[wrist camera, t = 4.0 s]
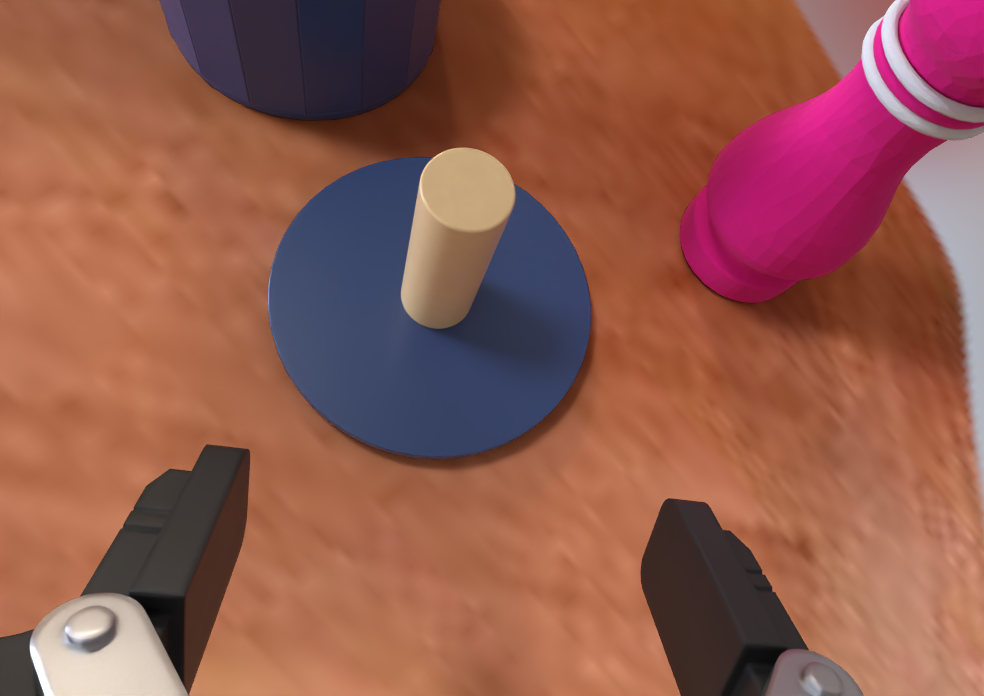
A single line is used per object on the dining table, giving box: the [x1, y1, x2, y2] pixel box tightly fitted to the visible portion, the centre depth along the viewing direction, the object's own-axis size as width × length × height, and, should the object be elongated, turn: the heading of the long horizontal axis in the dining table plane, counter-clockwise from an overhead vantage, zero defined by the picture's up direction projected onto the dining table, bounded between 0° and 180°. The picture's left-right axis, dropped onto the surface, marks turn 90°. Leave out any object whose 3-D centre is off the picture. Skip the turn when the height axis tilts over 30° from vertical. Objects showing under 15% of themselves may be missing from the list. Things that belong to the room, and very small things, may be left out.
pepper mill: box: [680, 0, 984, 303], centre depth 25 cm, size 7×7×20 cm
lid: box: [268, 148, 591, 459], centre depth 26 cm, size 14×14×10 cm
